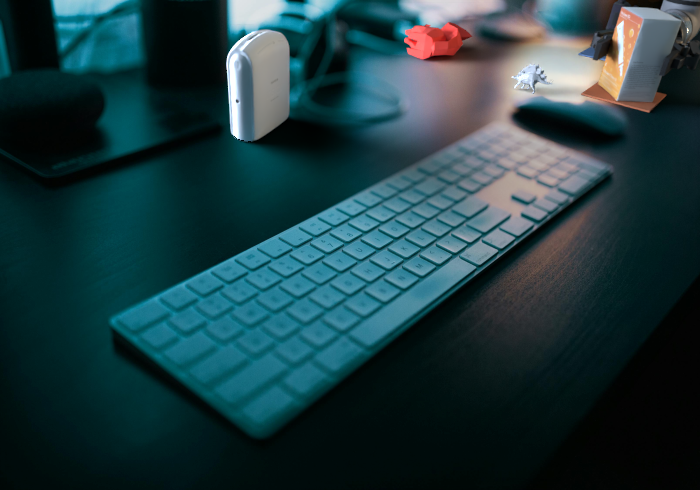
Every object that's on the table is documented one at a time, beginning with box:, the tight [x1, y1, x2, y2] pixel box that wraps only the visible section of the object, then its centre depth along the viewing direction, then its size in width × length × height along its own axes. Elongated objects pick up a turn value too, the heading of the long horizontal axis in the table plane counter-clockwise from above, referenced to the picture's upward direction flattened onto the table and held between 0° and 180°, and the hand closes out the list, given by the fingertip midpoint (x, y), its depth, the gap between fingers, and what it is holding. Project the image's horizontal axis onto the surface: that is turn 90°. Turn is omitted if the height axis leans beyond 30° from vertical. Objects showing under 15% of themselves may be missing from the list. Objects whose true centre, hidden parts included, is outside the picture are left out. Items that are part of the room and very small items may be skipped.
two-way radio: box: [605, 0, 639, 56], centre depth 115 cm, size 6×4×15 cm
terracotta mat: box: [580, 80, 667, 114], centre depth 98 cm, size 11×11×1 cm
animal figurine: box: [404, 21, 473, 60], centre depth 112 cm, size 12×15×5 cm
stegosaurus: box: [511, 63, 554, 94], centre depth 96 cm, size 2×7×5 cm, turn 60°
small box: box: [597, 6, 682, 102], centre depth 95 cm, size 8×6×13 cm
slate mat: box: [578, 46, 607, 62], centre depth 122 cm, size 12×19×1 cm, turn 143°
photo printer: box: [226, 29, 290, 142], centre depth 74 cm, size 10×4×12 cm, turn 157°
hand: (629, 59), depth 92 cm, fingers closed on small box, 10 cm apart
